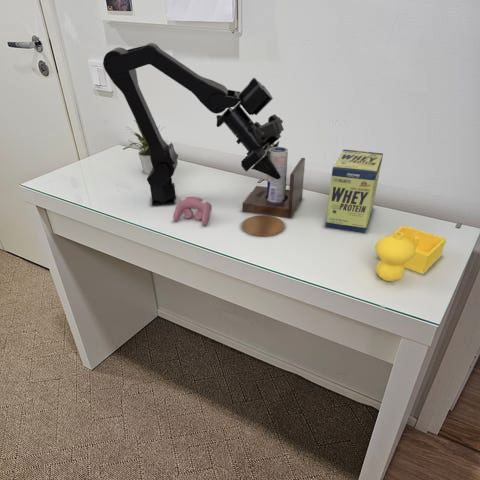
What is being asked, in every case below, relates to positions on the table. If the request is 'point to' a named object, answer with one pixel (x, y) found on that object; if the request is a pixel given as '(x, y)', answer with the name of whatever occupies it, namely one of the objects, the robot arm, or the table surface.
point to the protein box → (353, 190)
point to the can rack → (267, 203)
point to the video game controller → (195, 203)
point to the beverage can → (280, 162)
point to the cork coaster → (263, 225)
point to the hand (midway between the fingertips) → (282, 174)
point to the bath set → (407, 252)
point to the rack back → (296, 185)
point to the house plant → (143, 152)
